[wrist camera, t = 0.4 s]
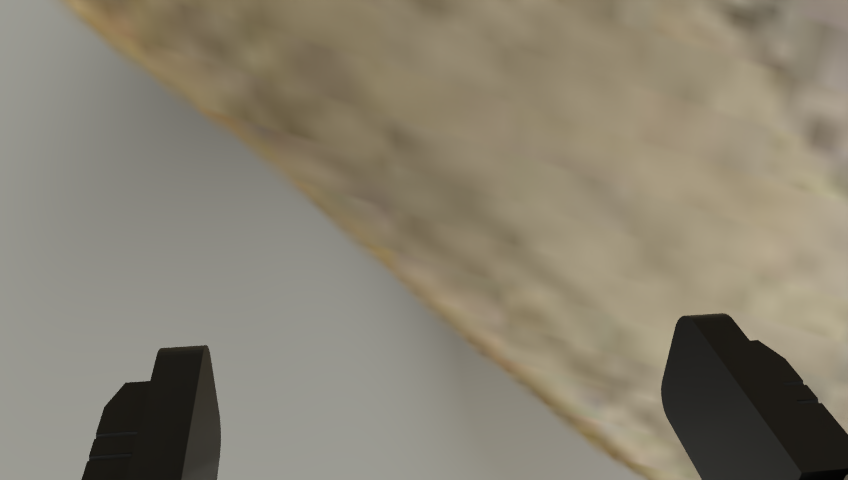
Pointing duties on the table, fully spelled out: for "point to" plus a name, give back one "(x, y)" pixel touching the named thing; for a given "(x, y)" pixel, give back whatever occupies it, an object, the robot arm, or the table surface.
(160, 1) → the table surface
